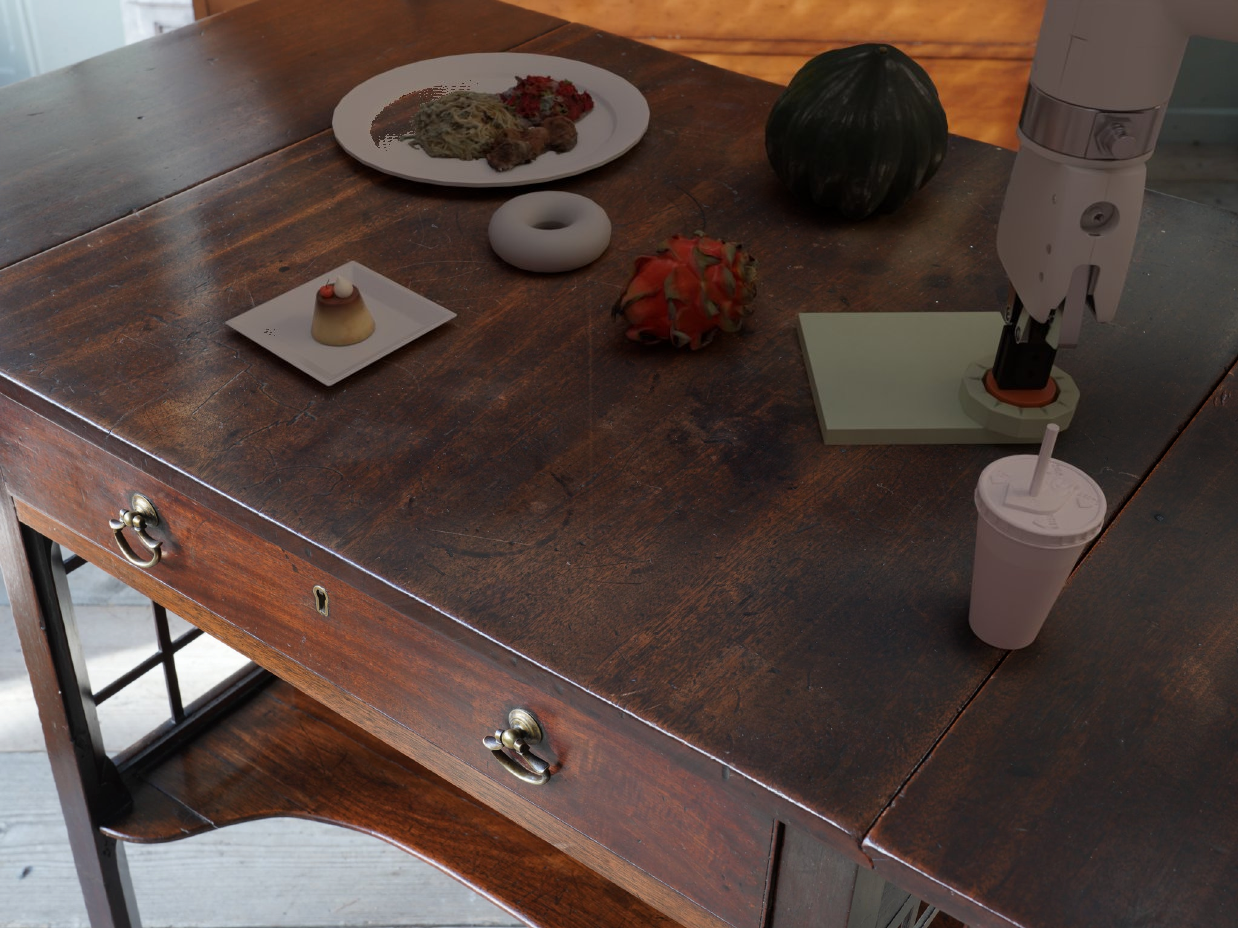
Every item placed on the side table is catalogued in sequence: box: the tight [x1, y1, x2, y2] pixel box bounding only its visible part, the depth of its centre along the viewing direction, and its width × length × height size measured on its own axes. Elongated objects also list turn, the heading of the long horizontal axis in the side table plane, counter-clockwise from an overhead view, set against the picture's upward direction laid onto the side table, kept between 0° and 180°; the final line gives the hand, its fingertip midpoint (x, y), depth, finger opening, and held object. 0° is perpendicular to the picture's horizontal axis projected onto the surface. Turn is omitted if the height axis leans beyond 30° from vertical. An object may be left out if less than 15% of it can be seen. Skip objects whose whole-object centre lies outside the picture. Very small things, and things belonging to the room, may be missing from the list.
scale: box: [795, 311, 1081, 446], centre depth 84 cm, size 17×15×3 cm
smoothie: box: [968, 424, 1108, 650], centre depth 63 cm, size 6×6×14 cm
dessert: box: [224, 260, 458, 387], centre depth 88 cm, size 12×12×5 cm
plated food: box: [331, 52, 651, 188], centre depth 116 cm, size 30×30×3 cm
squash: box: [764, 42, 949, 221], centre depth 103 cm, size 14×15×15 cm
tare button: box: [985, 370, 1056, 408], centre depth 80 cm, size 4×4×2 cm
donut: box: [487, 190, 613, 274], centre depth 98 cm, size 10×4×10 cm
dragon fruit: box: [610, 229, 759, 351], centre depth 88 cm, size 8×8×12 cm
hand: (1018, 382), depth 80 cm, fingers closed
